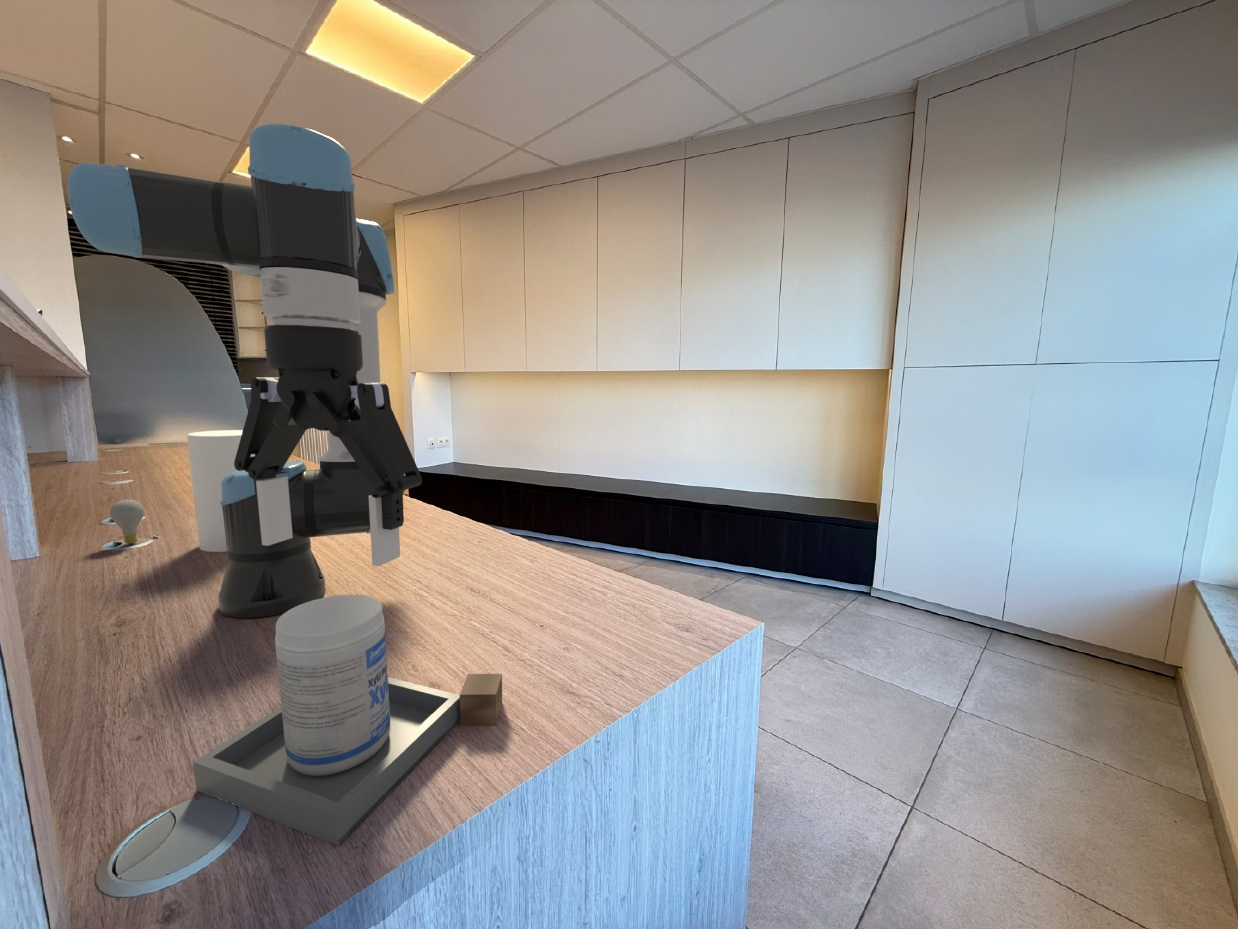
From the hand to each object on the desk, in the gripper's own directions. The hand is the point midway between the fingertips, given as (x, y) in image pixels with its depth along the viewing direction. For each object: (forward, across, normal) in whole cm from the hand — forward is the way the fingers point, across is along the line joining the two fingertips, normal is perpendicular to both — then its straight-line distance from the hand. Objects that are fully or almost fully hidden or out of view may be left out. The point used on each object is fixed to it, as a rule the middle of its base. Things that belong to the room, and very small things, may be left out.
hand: (329, 551), depth 49 cm
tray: (+22, 0, 0) cm, 22 cm away
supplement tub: (+21, 0, 0) cm, 21 cm away
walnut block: (+22, +11, +10) cm, 26 cm away
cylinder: (+23, -74, +42) cm, 88 cm away
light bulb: (+23, -94, +32) cm, 102 cm away
